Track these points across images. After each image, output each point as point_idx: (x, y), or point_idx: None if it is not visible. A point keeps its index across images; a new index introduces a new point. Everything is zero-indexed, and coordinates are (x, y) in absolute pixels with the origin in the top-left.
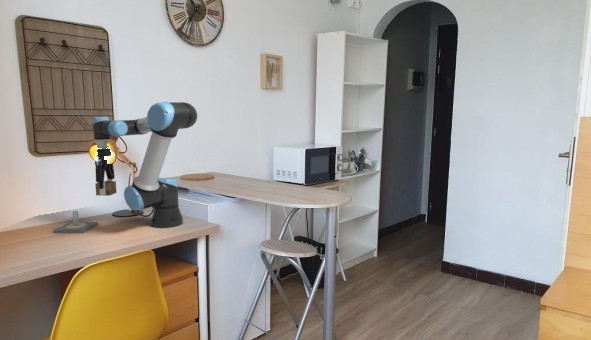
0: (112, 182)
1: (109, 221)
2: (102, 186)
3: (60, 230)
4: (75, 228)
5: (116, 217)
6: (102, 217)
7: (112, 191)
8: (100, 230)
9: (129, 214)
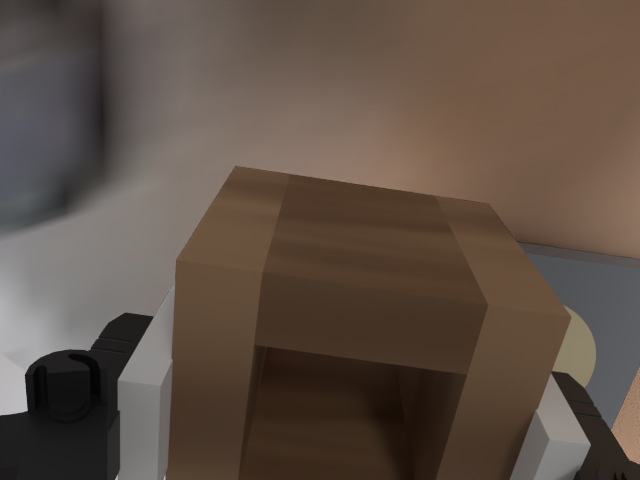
0: (376, 287)
1: (297, 170)
2: (573, 404)
3: (608, 423)
4: (611, 341)
5: (147, 152)
6: (145, 277)
7: (390, 207)
8: (614, 147)
9: (21, 54)
